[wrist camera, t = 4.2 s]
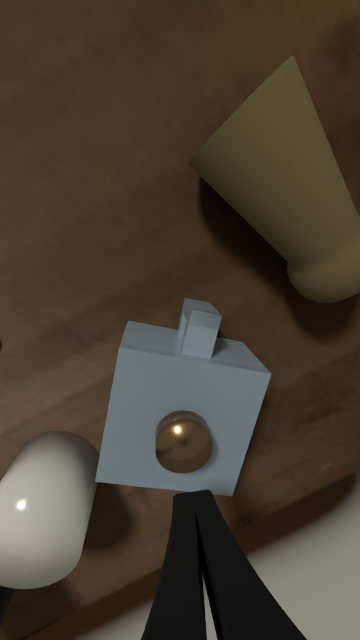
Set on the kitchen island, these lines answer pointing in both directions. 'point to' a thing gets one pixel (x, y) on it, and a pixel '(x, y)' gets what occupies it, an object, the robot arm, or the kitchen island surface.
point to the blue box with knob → (181, 401)
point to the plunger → (182, 442)
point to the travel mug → (4, 600)
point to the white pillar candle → (46, 509)
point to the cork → (288, 185)
